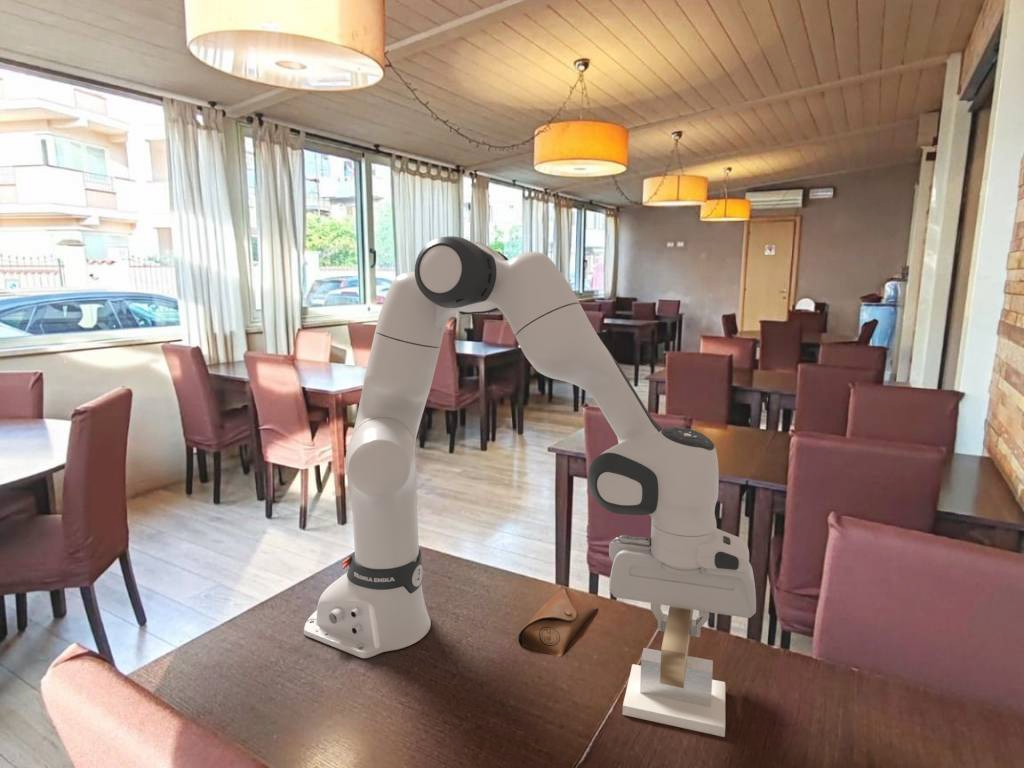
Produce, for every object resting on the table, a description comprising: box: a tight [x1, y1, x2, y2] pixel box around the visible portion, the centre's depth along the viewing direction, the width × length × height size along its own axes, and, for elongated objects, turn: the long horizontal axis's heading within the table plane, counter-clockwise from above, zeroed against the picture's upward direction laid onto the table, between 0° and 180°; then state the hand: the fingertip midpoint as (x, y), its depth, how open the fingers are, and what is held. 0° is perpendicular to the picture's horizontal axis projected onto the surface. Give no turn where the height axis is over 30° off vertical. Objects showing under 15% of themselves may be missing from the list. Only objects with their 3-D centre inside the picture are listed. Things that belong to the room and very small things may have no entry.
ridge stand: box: [622, 647, 726, 738], centre depth 91 cm, size 14×10×7 cm
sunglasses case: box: [517, 584, 599, 658], centre depth 112 cm, size 18×7×7 cm
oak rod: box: [660, 606, 694, 688], centre depth 90 cm, size 3×20×5 cm, turn 160°
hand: (679, 631), depth 90 cm, fingers closed on oak rod, 3 cm apart
